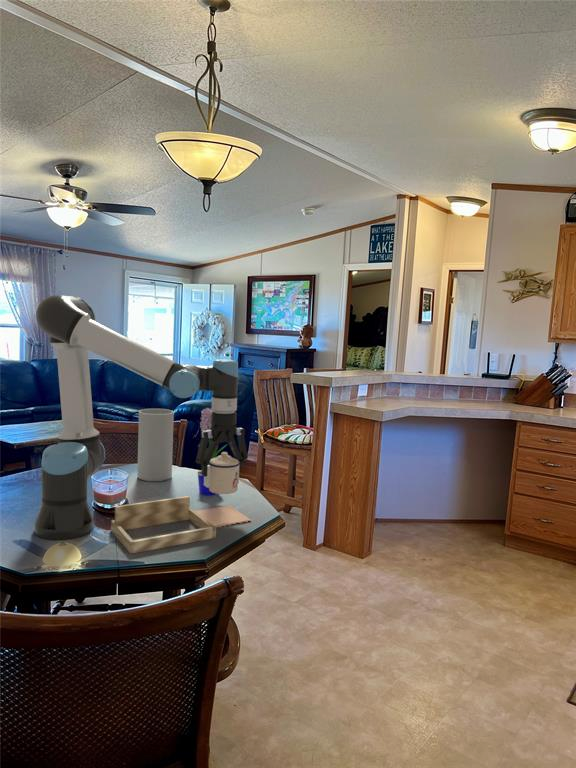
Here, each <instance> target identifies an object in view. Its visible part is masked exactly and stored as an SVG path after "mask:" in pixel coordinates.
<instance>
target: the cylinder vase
mask: <svg viewBox="0 0 576 768" xmlns="http://www.w3.org/2000/svg"><path fill="white" fill-rule="evenodd" d="M174 417H175V412H174V410H170V409H167V408H144V409H143V408H142V409H140V410H138V430H137V431H138V434H137V435H138V436H137V437H138V439H137V440H138V441H137V478H138V479H140V480H141V481H145V482H152V483H155V482H163V481H167V480H170V479H171V478H172V475H173V452H174V451H173V448H174V447H173V446H174V445H173V444H174Z"/></svg>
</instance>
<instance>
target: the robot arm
mask: <svg viewBox="0 0 576 768" xmlns="http://www.w3.org/2000/svg"><path fill="white" fill-rule="evenodd" d="M35 319H36V323H37V325H38V327H39V329H41V331H42V332H44V333H45V334H46V335H48V336H49V343H50V346H53V348H54V349H55V350H56V356H57V357H56V359H57V369H58V370H57V371H58V385H59V394H60V395H59V397H60V408H61V419H62V423H61V424H62V431H61V432H60V433H59V435H58V436H57V439H58V440H57V441H58V443H55V444H52V445H49V446H47V447H46V448H45V449H44V450H43V452H42V458H41V462H40V465H41V505H40V508H39V510H38V511H39V512H38V514H37V516H36V518H35V522H34V534H35V535H36V536H38V537H39V538H42V539H48V540H66V539H67V540H68V539H74V538H78V537H82V536H84V535H87V534H89V533H90V532H92V530H93V529H94V518H93V514H92V512H91V509H90V505H89V503H88V480H89V479H90V478H92V477H93V476H94V475H95V474H97V472H99V470H100V469H101V468H102V467H103V464H104V462H105V459H106V450H105V449H106V448H105V447H104V444H103V443H102V442H101V439H100V438H101V436H100V431H99V430H97V429H96V427H94V413H93V400H92V388H91V387H92V386H91V373H90V360H89V351H91V352H92V353H94V354H97V355H98V356H101V357H103V358H105V359H107V360H108V361H110V362H112V363H115V364H117V365H119V366H121V367H123V368H125V369H127V370H129V371H132V372H133V373H135V374H137V375H139V376H142V377H143V378H145V379H147V380H149V381H151V382H154V383H155V384H157V385H159V386H162V387H163V388H165V389H167V390H168V391H170V392H171V393H172V394H173V395H174V396H175V397H176V398H180V399H186V398H187V399H188V398H189V397H190V398H191V397H192V396H194V395H196V393H198V391H199V392H201V391H202V392H211V409H212V411H213V412H212V413H211V428H210V430H207V431H204V430H202V431H201V430H200V442H199V444H200V445H199V444H198V446H199V447H198V450H197V453H196V458H195V463H196V464H198V465H201V470H202V476H204V486H206V487H207V488H209V487H210V469H211V466H209V465H208V464H209V462H210V460H211V458H212V456H213V454H214V452H215V450H216V448H217V446H218V447H219V445H220V444H223V443H227V444H228V446H229V447H230V450H231V453H232V455H233V458H235V459H237V460H238V461H239V466H238V484H239V481H240V473H241V472H242V465H243V463H244V461H245V460H248V451H247V445H246V440H245V439H246V438H245V433H246V428H245V429H244V428H242V427H237V426H236V425H237V412H236V411H237V410H238V409H237V408H238V386H239V363H238V362H237V361H236V360H234V359H222V358H221V359H219V358H218V359H214V360H213V363H212V365H196V364H195V365H194V364H193V365H192V364H183V363H182V364H180V363H178V362H176V361H174V360H172V359H170V358H168V357H166V356H164V355H162V354H160V353H158V352H156V351H154V350H152V349H150V348H148V347H146V346H144V345H143V344H140V343H138V342H137V341H134V340H132V339H130V338H128V337H127V336H124V335H122V334H121V333H118V332H116V331H114V330H112V329H110V327H109V328H108V327H106V326H105V325H103V324H100V323H99V322H97V321H96V313H95V311H94V309H93V307H92V305H91V303H89V302H87V301H86V300H84V299H83V298H81V297H78V296H73V295H64V294H63V295H62V294H53V295H50V296H47V297H46V298H44V299H43V300H42V301H40V303H39V304H38V306H37V309H36V312H35ZM210 434H211V435H212V436H213V437H212V438H210V440H211V441H210V445H209V437H210ZM235 434H236V437H237V444H238V446H237V444H236V440H235V438H234V436H235ZM206 448H207V451H206ZM205 452H206V453H205Z"/></svg>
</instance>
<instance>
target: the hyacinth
mask: <svg viewBox="0 0 576 768" xmlns="http://www.w3.org/2000/svg"><path fill="white" fill-rule="evenodd" d="M212 412H213V410H212V407H211V408H209V407H206V408H203V409H202V410H201V412H200V413H201V417H200V418H199V419H200V420H201V421H199V425H200V426H199V428H200V429H201V430H200V432H201V431H202V430H204V431H207V430H210V428H211V413H212ZM212 437H213V436H212V435H211V434H210V437H209V438H208V446H209V445H210V441H211V439H212ZM199 445H200V443H199V444H198V445H197V447H198V448H199ZM227 445H228V444H225V445H224V446H222V447H221V448H220V449H219V450H218V448H219V445H218V446H217V448H216V450H215V452H214V454H213V456H212V458H216V457H217V455H218V454H219V453H220V452H221V451H222V450H223V449H225V448H226V447H227ZM207 449H208V447H207V448H206V451H207ZM205 453H206V452H205ZM212 458H211V459H212ZM208 465H209V466H210V464H208ZM197 478H198V492H199V494H200V495H202V496H215V495H217V494H216V493H212V492H211V491H210V490H209V488H207V487H206V486H204V476H202V469H201V470H198V471H197Z"/></svg>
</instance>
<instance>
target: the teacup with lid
mask: <svg viewBox="0 0 576 768" xmlns="http://www.w3.org/2000/svg"><path fill="white" fill-rule="evenodd" d="M209 464H210V466H211V469H210V487H209V490H210V491H211V492H212V493H216V494H215V495H230V494H234V493H236V492H238V489H239V488H238V485H239V483H238V466H239V461H238V460H237V459H235V457H232V456H231V455H229V454H228V452H227V451H222V452H221V454H220V455H218V456H216V457H215V458H212V459H211V460H210V462H209Z"/></svg>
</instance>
